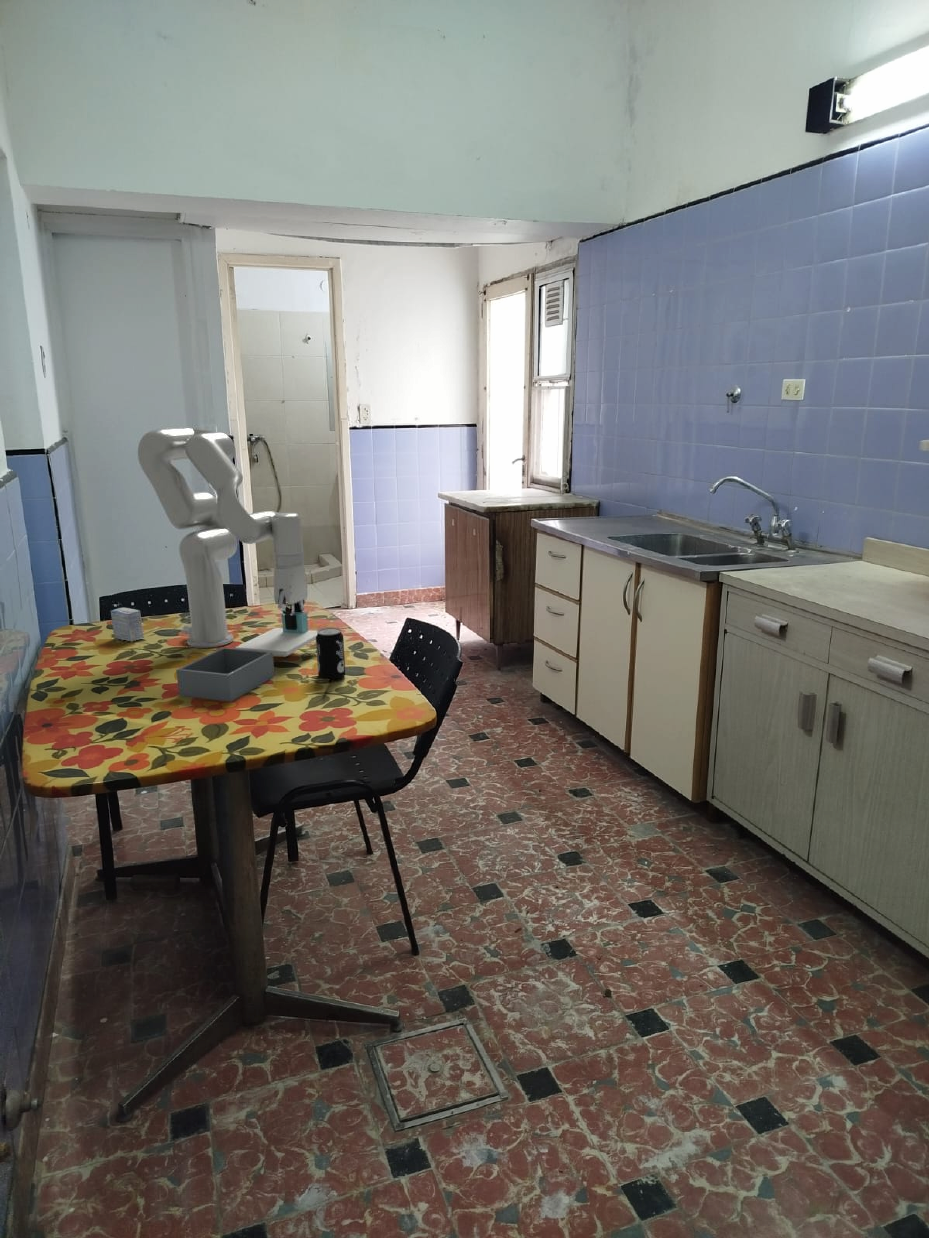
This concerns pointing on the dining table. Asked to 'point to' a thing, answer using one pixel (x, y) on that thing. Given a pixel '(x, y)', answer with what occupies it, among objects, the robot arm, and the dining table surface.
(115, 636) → the white upright block
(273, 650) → the lid
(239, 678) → the tub
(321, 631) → the beverage can
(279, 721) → the dining table surface
